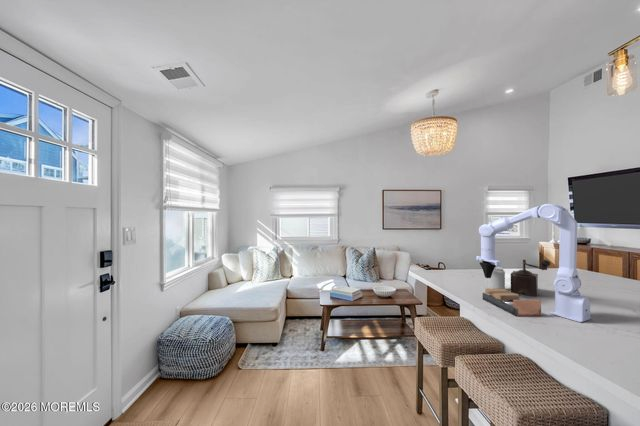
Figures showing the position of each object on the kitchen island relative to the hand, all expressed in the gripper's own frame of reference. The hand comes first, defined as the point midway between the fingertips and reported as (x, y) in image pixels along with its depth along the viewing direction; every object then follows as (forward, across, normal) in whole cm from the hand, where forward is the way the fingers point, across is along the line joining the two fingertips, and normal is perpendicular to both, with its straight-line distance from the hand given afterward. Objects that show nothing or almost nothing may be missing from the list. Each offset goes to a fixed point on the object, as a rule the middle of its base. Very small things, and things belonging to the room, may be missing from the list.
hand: (487, 277), depth 126 cm
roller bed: (+9, +14, 0) cm, 16 cm away
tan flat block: (+6, +9, 0) cm, 11 cm away
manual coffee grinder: (+9, -4, +24) cm, 26 cm away
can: (+9, -9, +10) cm, 16 cm away
